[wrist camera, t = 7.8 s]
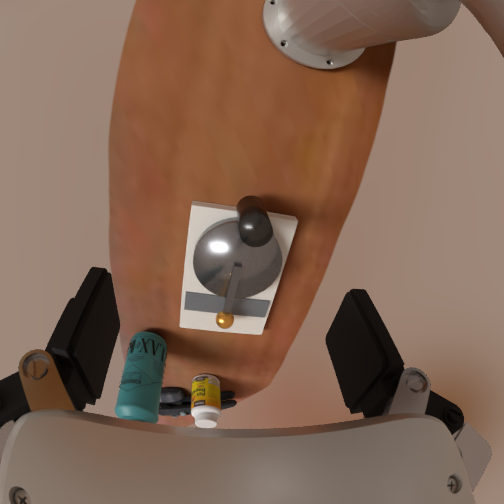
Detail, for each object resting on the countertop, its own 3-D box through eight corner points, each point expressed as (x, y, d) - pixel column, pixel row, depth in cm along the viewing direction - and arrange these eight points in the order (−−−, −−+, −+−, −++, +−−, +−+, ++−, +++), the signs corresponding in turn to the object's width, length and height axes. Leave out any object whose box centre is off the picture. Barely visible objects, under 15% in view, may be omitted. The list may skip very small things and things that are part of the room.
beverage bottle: (176, 341, 46) (168, 450, 29) (149, 353, 47) (134, 453, 30) (151, 318, 43) (131, 432, 26) (124, 331, 44) (99, 436, 27)
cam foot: (205, 185, 31) (201, 207, 26) (298, 203, 34) (314, 228, 28) (185, 311, 40) (182, 345, 35) (258, 319, 43) (264, 353, 37)
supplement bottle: (205, 369, 51) (205, 415, 42) (225, 380, 53) (228, 424, 45) (186, 379, 52) (184, 423, 44) (206, 390, 55) (207, 432, 46)
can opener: (159, 400, 57) (157, 421, 52) (151, 384, 53) (148, 406, 48) (236, 399, 58) (238, 420, 53) (235, 383, 55) (237, 406, 50)
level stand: (192, 200, 34) (191, 206, 32) (295, 216, 36) (298, 222, 35) (180, 320, 44) (179, 328, 42) (260, 328, 46) (261, 336, 45)
